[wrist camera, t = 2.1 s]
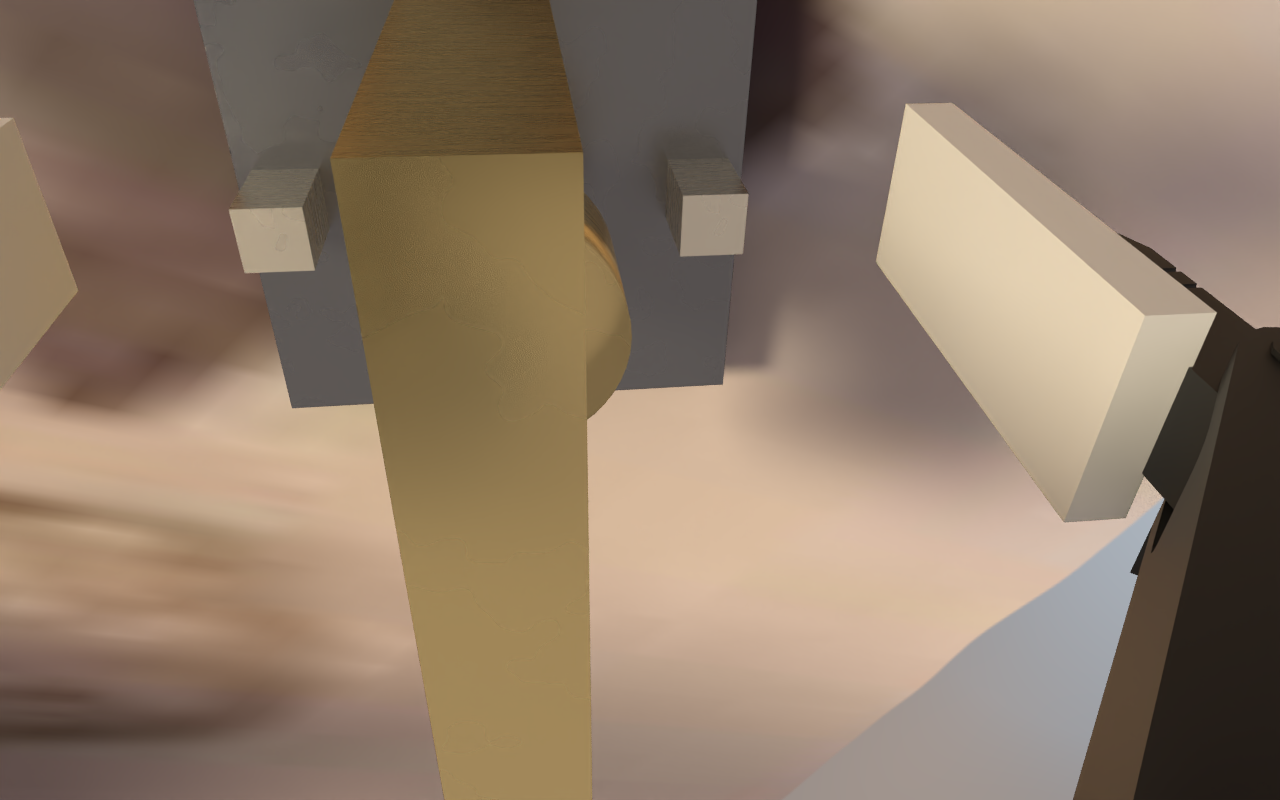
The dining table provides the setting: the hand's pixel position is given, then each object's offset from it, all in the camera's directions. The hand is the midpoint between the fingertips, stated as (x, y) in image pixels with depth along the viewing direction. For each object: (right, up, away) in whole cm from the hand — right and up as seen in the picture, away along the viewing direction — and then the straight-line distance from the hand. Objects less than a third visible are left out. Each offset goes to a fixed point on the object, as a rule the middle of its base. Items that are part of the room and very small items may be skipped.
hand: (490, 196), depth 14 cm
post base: (-3, +5, +17) cm, 18 cm away
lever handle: (-2, +1, +11) cm, 11 cm away
